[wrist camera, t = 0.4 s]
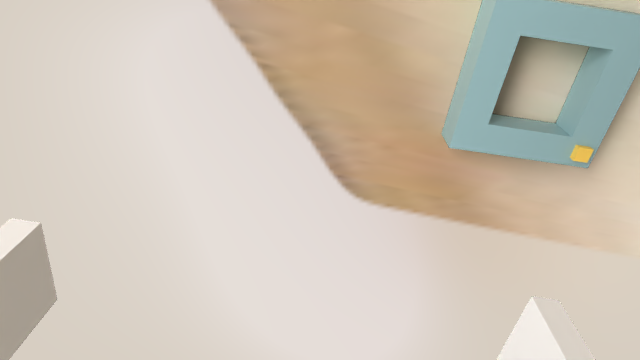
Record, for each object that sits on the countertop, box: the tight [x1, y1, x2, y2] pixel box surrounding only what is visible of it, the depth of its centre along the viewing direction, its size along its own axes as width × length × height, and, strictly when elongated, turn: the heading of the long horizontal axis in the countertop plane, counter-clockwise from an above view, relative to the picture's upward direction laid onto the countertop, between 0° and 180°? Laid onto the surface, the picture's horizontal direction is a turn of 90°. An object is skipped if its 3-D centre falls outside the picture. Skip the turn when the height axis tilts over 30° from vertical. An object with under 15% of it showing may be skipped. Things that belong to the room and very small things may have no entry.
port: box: [442, 0, 640, 168], centre depth 33 cm, size 12×12×4 cm
